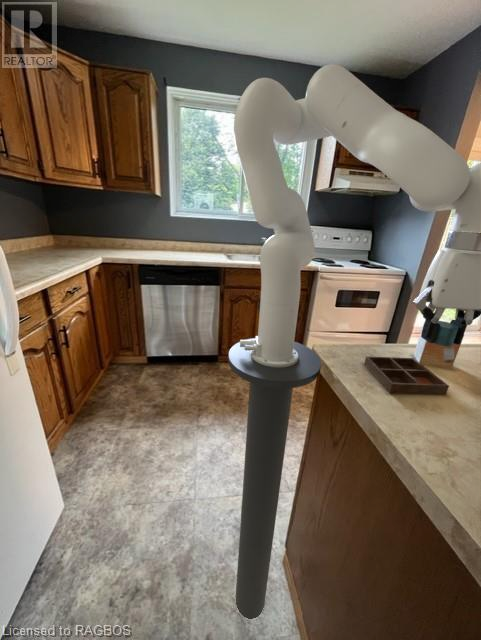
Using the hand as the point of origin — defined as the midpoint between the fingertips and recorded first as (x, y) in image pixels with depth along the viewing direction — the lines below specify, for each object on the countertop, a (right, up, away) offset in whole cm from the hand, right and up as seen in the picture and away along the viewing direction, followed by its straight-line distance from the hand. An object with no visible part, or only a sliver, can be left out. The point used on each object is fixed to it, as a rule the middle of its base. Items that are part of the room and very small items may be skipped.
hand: (440, 340), depth 53 cm
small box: (+15, -8, +23) cm, 29 cm away
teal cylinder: (0, 0, 0) cm, 0 cm away
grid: (+1, -11, +15) cm, 18 cm away
